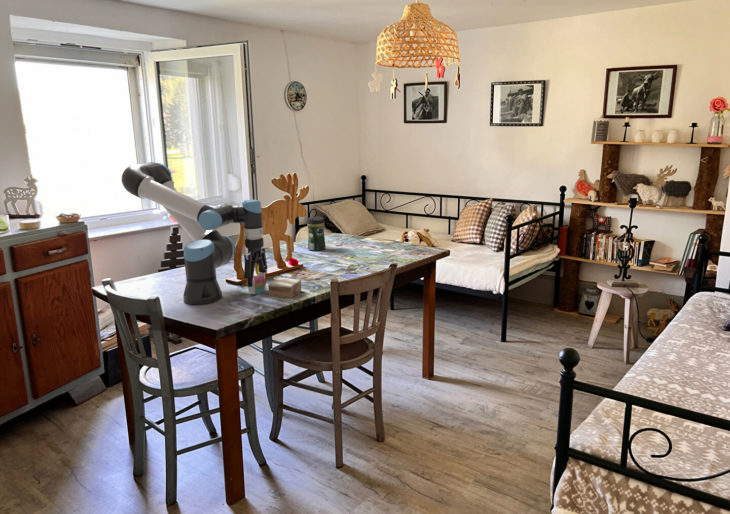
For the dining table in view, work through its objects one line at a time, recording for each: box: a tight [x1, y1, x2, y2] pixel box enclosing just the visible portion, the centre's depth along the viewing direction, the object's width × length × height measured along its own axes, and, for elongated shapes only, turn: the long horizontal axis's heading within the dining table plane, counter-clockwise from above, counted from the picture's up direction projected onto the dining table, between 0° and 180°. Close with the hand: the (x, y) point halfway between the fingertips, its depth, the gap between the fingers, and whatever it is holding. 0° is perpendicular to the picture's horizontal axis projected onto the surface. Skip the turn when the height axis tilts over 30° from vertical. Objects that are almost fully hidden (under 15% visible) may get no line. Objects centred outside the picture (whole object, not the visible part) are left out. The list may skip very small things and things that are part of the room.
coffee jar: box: [306, 216, 327, 252], centre depth 303 cm, size 10×8×19 cm
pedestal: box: [267, 277, 302, 299], centre depth 227 cm, size 10×10×5 cm
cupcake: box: [245, 265, 267, 295], centre depth 228 cm, size 9×8×12 cm
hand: (257, 290), depth 229 cm, fingers closed on cupcake, 8 cm apart
